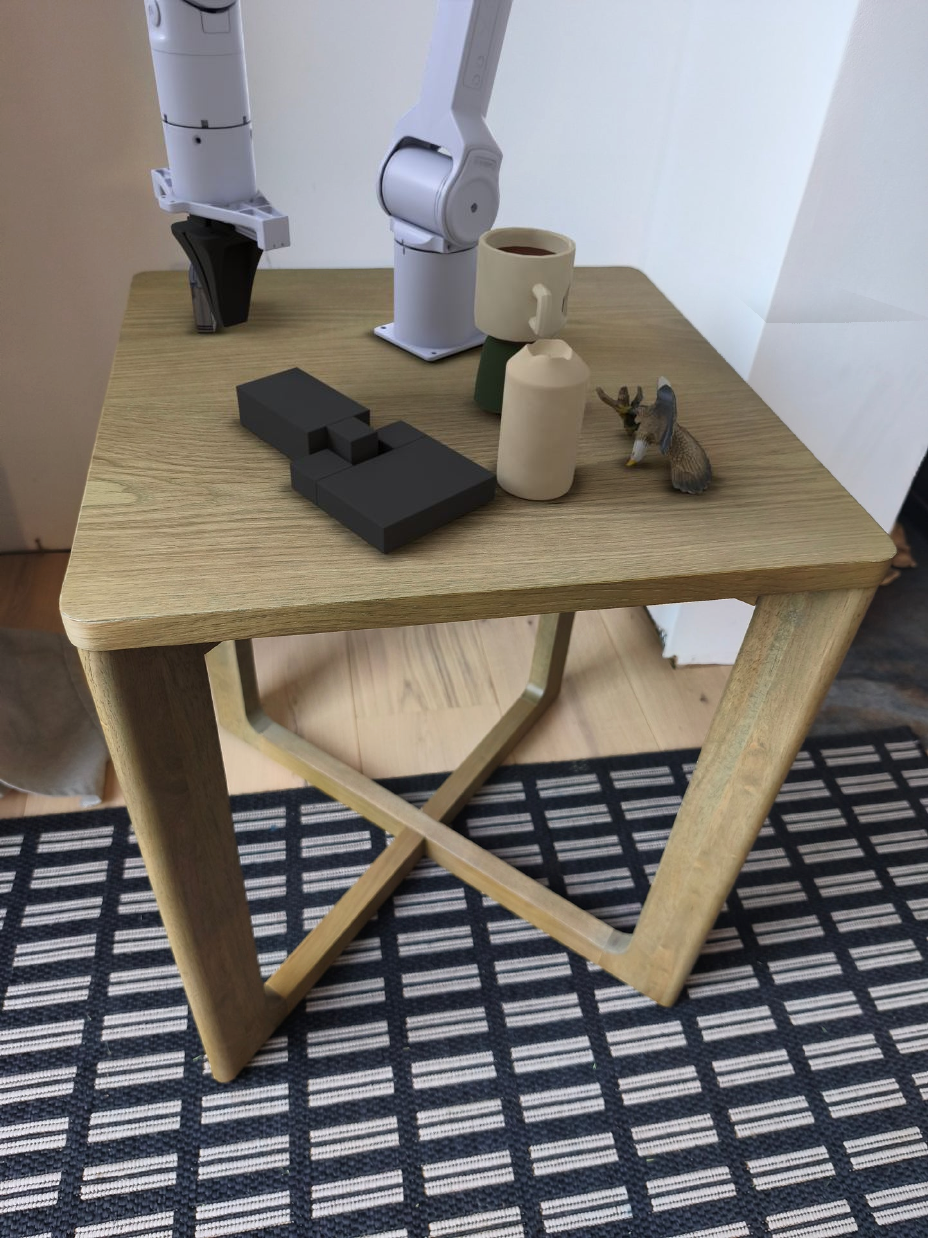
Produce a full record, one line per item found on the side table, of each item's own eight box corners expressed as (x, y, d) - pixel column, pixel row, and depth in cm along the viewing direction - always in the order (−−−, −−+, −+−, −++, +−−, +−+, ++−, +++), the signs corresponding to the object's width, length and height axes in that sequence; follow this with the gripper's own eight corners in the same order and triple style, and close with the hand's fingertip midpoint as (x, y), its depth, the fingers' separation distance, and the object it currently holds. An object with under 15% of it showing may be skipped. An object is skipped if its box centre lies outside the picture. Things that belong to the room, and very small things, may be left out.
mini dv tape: (208, 298, 84) (199, 234, 80) (223, 299, 84) (215, 235, 80) (197, 332, 78) (186, 265, 74) (214, 332, 78) (204, 265, 74)
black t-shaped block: (334, 489, 59) (332, 448, 57) (240, 424, 65) (235, 385, 63) (395, 464, 62) (395, 424, 60) (299, 404, 68) (296, 366, 66)
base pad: (384, 554, 54) (384, 528, 53) (291, 488, 59) (289, 462, 58) (495, 499, 59) (497, 474, 58) (401, 443, 65) (401, 419, 63)
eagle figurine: (569, 436, 64) (649, 473, 58) (614, 347, 63) (701, 374, 56) (632, 470, 69) (712, 507, 63) (675, 388, 68) (762, 417, 61)
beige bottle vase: (567, 506, 59) (589, 370, 53) (489, 494, 60) (501, 358, 53) (575, 467, 63) (597, 335, 57) (502, 455, 64) (515, 325, 58)
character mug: (574, 435, 67) (600, 265, 59) (486, 442, 65) (501, 268, 57) (532, 374, 75) (550, 217, 66) (453, 379, 73) (461, 218, 65)
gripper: (97, 104, 58) (136, 303, 67) (212, 149, 50) (239, 368, 59) (190, 95, 62) (215, 285, 71) (310, 136, 54) (321, 343, 63)
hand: (231, 321), depth 65 cm, fingers closed
